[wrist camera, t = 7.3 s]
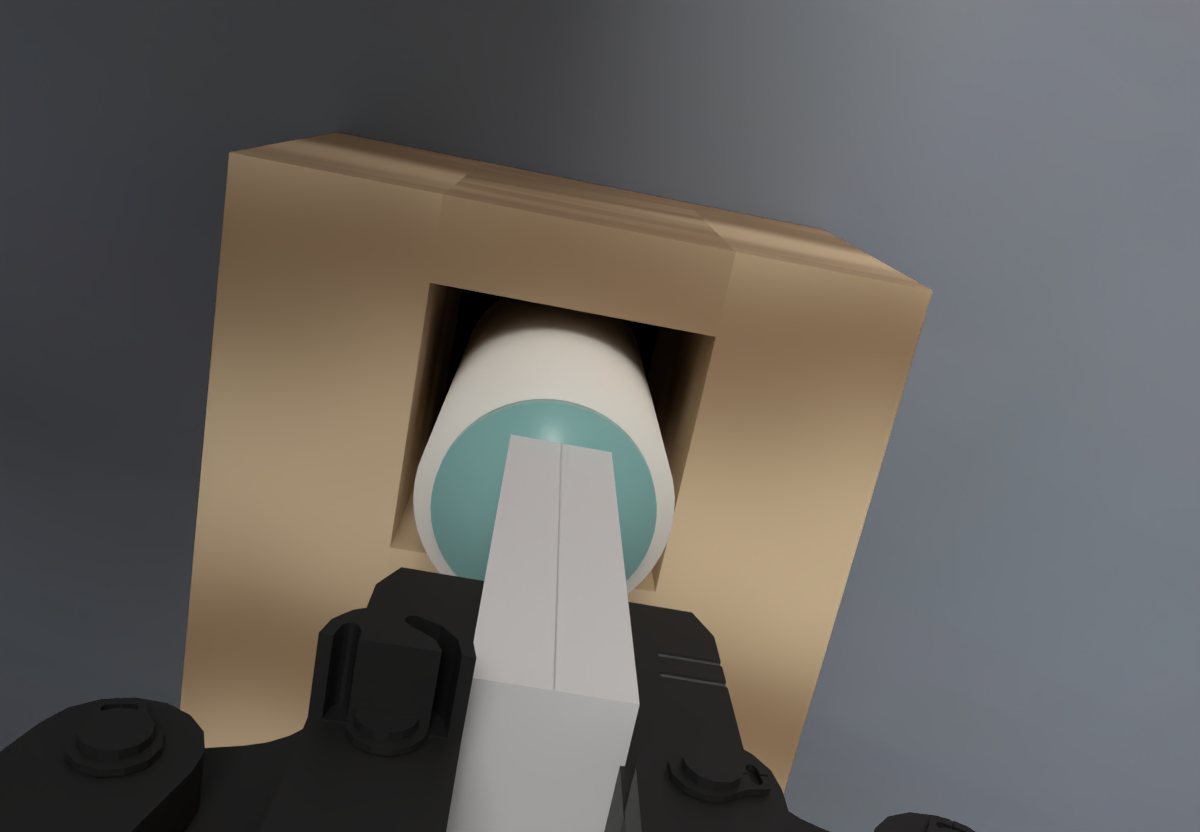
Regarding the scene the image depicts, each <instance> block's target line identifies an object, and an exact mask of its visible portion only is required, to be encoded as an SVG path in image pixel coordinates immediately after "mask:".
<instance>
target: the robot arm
mask: <svg viewBox="0 0 1200 832" xmlns="http://www.w3.org/2000/svg"><path fill="white" fill-rule="evenodd" d="M720 663H721V660H720V657H719V653H718V649H717V645H716V641H715V638H714V636H713V635H712V634H711V632H710V631H709V630H708V629H707V628H706V627H705V626H704V625H703V624H702V623H701V622H700V621H699V619H698V618H697V617H696V616H695V615H694V614H693V613H692V612H687V611H681V610H675V609H669V608H663V607H657V606H651V605H645V604H639V603H633V602H628V595H627V586H626V577H625V568H624V559H623V550H622V541H621V532H620V523H619V514H618V505H617V496H616V487H615V478H614V469H613V460H612V452H607V451H601V450H596V449H590V448H585V447H579V446H573V445H568V444H562V443H557V442H551V441H545V440H540V439H534V438H529V437H523V436H517V435H512V434H511V436H510V442H509V447H508V453H507V458H506V464H505V469H504V475H503V480H502V486H501V491H500V497H499V502H498V508H497V513H496V519H495V524H494V530H493V535H492V541H491V546H490V552H489V557H488V563H487V568H486V574H485V579H484V581H482V580H476V579H470V578H464V577H458V576H452V575H446V574H440V573H434V572H428V571H422V570H416V569H410V568H404V567H401V568H399V569H398V570H396V571H395V572H393V573H392V574H390V575H389V576H387V577H386V578H384V579H383V580H381V581H380V582H378V583H377V584H376V585H375V588H374V590H373V593H372V595H371V598H370V600H369V603H368V605H367V608H361V609H354V610H351V611H349V612H346V613H344V614H342V615H339V616H337V617H335V618H332V619H331V620H330V621H329V622H328V623H327V624H326V625H325V626H324V628H323V629H322V630H321V631H320V632H319V635H318V642H317V650H316V657H315V665H314V672H313V680H312V688H311V695H310V703H309V710H308V718H307V720H306V723H305V725H304V727H303V729H302V730H300V731H298V732H296V733H294V734H292V735H290V736H287V737H283V738H280V739H277V740H273V741H270V742H266V743H259V744H251V745H244V746H230V747H213V748H205V743H204V731H203V730H202V729H201V727H200V726H199V725H198V724H197V722H196V721H195V720H194V719H193V718H192V716H191V715H190V714H188V713H186V712H183V711H181V710H179V709H177V708H175V707H173V706H171V705H169V704H167V703H163V702H157V701H152V700H146V699H140V698H113V699H100V700H96V701H92V702H88V703H84V704H80V705H77V706H73V707H69V708H67V709H65V710H63V711H61V712H59V713H57V714H55V715H53V716H51V717H50V718H48V719H46V720H44V721H42V722H40V723H39V724H37V725H36V726H35V727H33V728H32V729H31V730H29V731H28V732H27V733H25V734H24V735H22V736H21V737H20V738H18V739H17V740H16V741H14V742H13V743H12V744H10V745H9V746H7V747H6V748H5V749H3V750H2V751H1V752H0V832H829V831H827V830H824V829H822V828H819V827H817V826H815V825H813V824H811V823H808V822H806V821H804V820H802V819H800V818H798V817H797V816H795V815H794V814H792V813H790V812H789V811H788V808H787V805H786V802H785V798H784V795H783V791H782V789H781V787H780V785H779V783H778V782H777V780H776V778H775V776H774V775H773V773H772V771H771V770H770V769H769V768H768V767H766V766H765V765H764V764H763V763H762V762H761V761H760V760H758V759H757V758H756V757H755V756H754V755H753V754H751V753H749V752H748V751H746V750H744V748H743V744H742V740H741V737H740V733H739V729H738V725H737V721H736V718H735V714H734V710H733V706H732V702H731V699H730V695H729V691H728V687H726V679H725V676H724V672H723V668H722V666H720ZM874 832H975V831H973V830H972V829H971V828H969V827H967V826H965V825H962V824H960V823H958V822H955V821H954V822H953V821H950V819H946V818H942V817H939V816H934V815H927V814H919V813H911V812H909V813H904V814H899V815H894V816H889V817H887V818H886V819H885V820H884V821H883V822H882V823H880V824H879V825H878V826H877V827H876V828H875V830H874Z"/></svg>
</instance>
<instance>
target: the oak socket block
mask: <svg viewBox="0 0 1200 832" xmlns="http://www.w3.org/2000/svg"><path fill="white" fill-rule="evenodd" d="M462 289H466V290H471V291H476V292H482V293H487V294H492V295H498V296H503V297H508V298H513V299H519V300H524V301H529V302H534V303H540V304H545V305H550V306H556V307H561V308H566V309H571V310H577V311H582V312H587V313H593V314H598V315H603V316H608V317H614V318H619V319H624V320H630V321H635V322H640V323H645V324H651V325H656V326H659V328H658V332H657V337H656V341H655V346H654V351H653V355H652V360H651V364H650V369H649V373H648V378H647V382H648V386H649V390H650V394H651V398H652V401H653V405H654V409H655V413H656V417H657V421H658V425H659V428H660V432H661V436H662V440H663V444H664V448H665V452H666V455H667V459H668V463H669V467H670V471H671V475H672V479H673V485H674V494H675V505H674V517H673V523H672V528H671V531H670V534H669V538H668V541H667V543H666V546H665V548H664V550H663V552H662V554H661V556H660V558H659V559H658V561H657V562H656V564H655V566H654V567H653V569H652V570H651V571H650V572H649V574H648V575H647V576H646V577H645V578H644V579H643V581H642V582H641V583H640V584H638V585H637V586H636V587H635V588H634V589H633V590H632V591H631V592H630V593H628V594H627V595H628V602H633V603H639V604H645V605H651V606H657V607H663V608H669V609H675V610H681V611H687V612H692V613H693V614H694V615H695V616H696V617H697V618H698V619H699V621H700V622H701V623H702V624H703V625H704V626H705V627H706V628H707V629H708V630H709V631H710V632H711V634H712V635H713V636H714V638H715V641H716V645H717V649H718V653H719V657H720V660H721V663H720V666H722V668H723V672H724V676H725V679H726V687H728V691H729V695H730V699H731V702H732V706H733V710H734V714H735V718H736V721H737V725H738V729H739V733H740V737H741V740H742V744H743V748H744V750H746V751H748V752H749V753H751V754H753V755H754V756H755V757H756V758H757V759H758V760H760V761H761V762H762V763H763V764H764V765H765V766H766V767H768V768H769V769H770V770H771V771H772V773H773V775H774V776H775V778H776V780H777V782H778V783H779V785H780V787H781V789H782V791H783V794H784V791H785V787H786V784H787V781H788V777H789V774H790V771H791V767H792V764H793V760H794V757H795V754H796V750H797V747H798V744H799V740H800V737H801V733H802V730H803V727H804V723H805V720H806V717H807V713H808V710H809V706H810V703H811V700H812V696H813V693H814V690H815V686H816V683H817V680H818V676H819V673H820V669H821V666H822V663H823V659H824V656H825V653H826V649H827V646H828V642H829V639H830V636H831V632H832V629H833V626H834V622H835V619H836V616H837V612H838V609H839V605H840V602H841V599H842V595H843V592H844V589H845V585H846V582H847V578H848V575H849V572H850V568H851V565H852V562H853V558H854V555H855V551H856V548H857V545H858V541H859V538H860V535H861V531H862V528H863V525H864V521H865V518H866V514H867V511H868V508H869V504H870V501H871V498H872V494H873V491H874V487H875V484H876V481H877V477H878V474H879V471H880V467H881V464H882V460H883V457H884V454H885V450H886V447H887V444H888V440H889V437H890V434H891V430H892V427H893V423H894V420H895V417H896V413H897V410H898V407H899V403H900V400H901V396H902V393H903V390H904V386H905V383H906V380H907V376H908V373H909V370H910V366H911V363H912V359H913V356H914V353H915V349H916V346H917V343H918V339H919V336H920V332H921V329H922V326H923V322H924V319H925V316H926V312H927V309H928V305H929V302H930V299H931V295H932V292H933V291H932V290H931V289H929V288H927V287H925V286H924V285H922V284H920V283H918V282H916V281H915V280H913V279H911V278H909V277H908V276H906V275H904V274H902V273H900V272H899V271H897V270H895V269H893V268H891V267H890V266H888V265H886V264H884V263H883V262H881V261H879V260H877V259H875V258H874V257H872V256H870V255H868V254H867V253H865V252H863V251H861V250H859V249H858V248H856V247H854V246H852V245H850V244H849V243H847V242H845V241H843V240H842V239H840V238H838V237H836V236H834V235H833V234H831V233H829V232H827V231H825V230H822V229H817V228H812V227H807V226H802V225H797V224H792V223H787V222H782V221H777V220H772V219H767V218H762V217H757V216H752V215H747V214H742V213H737V212H732V211H727V210H722V209H717V208H712V207H707V206H702V205H697V204H692V203H687V202H682V201H677V200H672V199H667V198H662V197H657V196H652V195H647V194H642V193H637V192H632V191H627V190H622V189H617V188H612V187H607V186H602V185H597V184H592V183H587V182H582V181H577V180H572V179H567V178H562V177H557V176H552V175H547V174H542V173H537V172H532V171H527V170H522V169H517V168H512V167H507V166H502V165H497V164H492V163H487V162H482V161H477V160H472V159H467V158H462V157H457V156H452V155H447V154H442V153H437V152H432V151H427V150H422V149H417V148H412V147H407V146H402V145H397V144H392V143H387V142H382V141H377V140H372V139H367V138H362V137H357V136H352V135H347V134H342V133H337V132H335V133H329V134H324V135H319V136H313V137H308V138H303V139H297V140H292V141H287V142H281V143H276V144H271V145H266V146H260V147H255V148H250V149H244V150H239V151H234V152H229V161H228V172H227V184H226V195H225V206H224V217H223V229H222V240H221V251H220V263H219V274H218V285H217V296H216V308H215V319H214V330H213V342H212V353H211V364H210V375H209V387H208V398H207V409H206V421H205V432H204V443H203V454H202V466H201V477H200V488H199V500H198V511H197V522H196V533H195V545H194V556H193V567H192V579H191V590H190V601H189V612H188V624H187V635H186V646H185V658H184V669H183V680H182V691H181V703H180V710H181V711H183V712H186V713H188V714H190V715H191V716H192V718H193V719H194V720H195V721H196V722H197V724H198V725H199V726H200V727H201V729H202V730H203V731H204V743H205V748H213V747H230V746H244V745H251V744H259V743H266V742H270V741H273V740H277V739H280V738H283V737H287V736H290V735H292V734H294V733H296V732H298V731H300V730H302V729H303V727H304V725H305V723H306V720H307V718H308V710H309V703H310V695H311V688H312V680H313V672H314V665H315V657H316V650H317V642H318V635H319V632H320V631H321V630H322V629H323V628H324V626H325V625H326V624H327V623H328V622H329V621H330V620H331V619H332V618H335V617H337V616H339V615H342V614H344V613H346V612H349V611H351V610H354V609H361V608H367V605H368V603H369V600H370V598H371V595H372V593H373V590H374V588H375V585H376V584H377V583H378V582H380V581H381V580H383V579H384V578H386V577H387V576H389V575H390V574H392V573H393V572H395V571H396V570H398V569H399V568H401V567H404V568H410V569H416V570H422V571H428V572H434V573H439V571H438V570H437V569H436V567H435V566H434V564H433V563H432V561H431V560H430V558H429V556H428V555H427V553H426V551H425V549H424V547H423V545H422V542H421V539H420V536H419V533H418V531H417V526H416V521H415V516H414V504H413V495H414V483H415V478H416V474H417V469H418V466H419V463H420V461H421V458H422V455H423V453H424V450H425V448H426V445H427V443H428V440H429V438H430V435H431V433H432V431H433V428H434V426H435V423H436V421H437V418H438V416H439V413H440V411H441V408H442V406H443V403H444V400H445V393H446V387H447V381H448V375H449V368H450V362H451V356H452V350H453V343H454V337H455V331H456V325H457V318H458V312H459V306H460V300H461V293H462Z"/></svg>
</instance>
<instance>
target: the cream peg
mask: <svg viewBox="0 0 1200 832" xmlns="http://www.w3.org/2000/svg"><path fill="white" fill-rule="evenodd" d="M511 434H512V435H517V436H523V437H529V438H534V439H540V440H545V441H551V442H557V443H562V444H568V445H573V446H579V447H585V448H590V449H596V450H601V451H607V452H612V460H613V469H614V478H615V487H616V496H617V505H618V514H619V523H620V532H621V541H622V550H623V559H624V568H625V577H626V586H627V594H628V593H630V592H631V591H632V590H633V589H634V588H635V587H636V586H637V585H638V584H640V583H641V582H642V581H643V579H644V578H645V577H646V576H647V575H648V574H649V572H650V571H651V570H652V569H653V567H654V566H655V564H656V562H657V561H658V559H659V558H660V556H661V554H662V552H663V550H664V548H665V546H666V543H667V541H668V538H669V534H670V531H671V528H672V523H673V517H674V505H675V494H674V485H673V479H672V475H671V471H670V467H669V463H668V459H667V455H666V452H665V448H664V444H663V440H662V436H661V432H660V428H659V425H658V421H657V417H656V413H655V409H654V405H653V401H652V398H651V394H650V390H649V386H648V382H647V378H646V374H645V371H644V367H643V363H642V359H641V355H640V351H639V347H638V344H637V340H636V338H635V336H634V333H633V331H632V329H631V327H630V326H629V324H628V322H627V321H626V320H624V319H619V318H614V317H608V316H603V315H598V314H593V313H587V312H582V311H577V310H571V309H566V308H561V307H556V306H550V305H545V304H540V303H534V302H529V301H524V300H519V299H513V298H508V297H502V298H500V299H499V300H498V301H497V302H495V303H494V304H493V305H492V306H491V307H490V308H489V309H488V310H487V311H486V312H485V313H484V314H483V316H482V317H481V318H480V320H479V321H478V323H477V325H476V326H475V328H474V330H473V332H472V334H471V337H470V339H469V342H468V344H467V347H466V349H465V352H464V354H463V356H462V359H461V361H460V364H459V366H458V369H457V371H456V374H455V376H454V379H453V381H452V384H451V386H450V389H449V391H448V393H447V396H446V398H445V401H444V403H443V406H442V408H441V411H440V413H439V416H438V418H437V421H436V423H435V426H434V428H433V431H432V433H431V435H430V438H429V440H428V443H427V445H426V448H425V450H424V453H423V455H422V458H421V461H420V463H419V466H418V469H417V474H416V478H415V483H414V495H413V504H414V516H415V521H416V526H417V531H418V533H419V536H420V539H421V542H422V545H423V547H424V549H425V551H426V553H427V555H428V556H429V558H430V560H431V561H432V563H433V564H434V566H435V567H436V569H437V570H438V571H439V573H440V574H446V575H452V576H458V577H464V578H470V579H476V580H482V581H484V579H485V574H486V568H487V563H488V557H489V552H490V546H491V541H492V535H493V530H494V524H495V519H496V513H497V508H498V502H499V497H500V491H501V486H502V480H503V475H504V469H505V464H506V458H507V453H508V447H509V442H510V436H511Z"/></svg>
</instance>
